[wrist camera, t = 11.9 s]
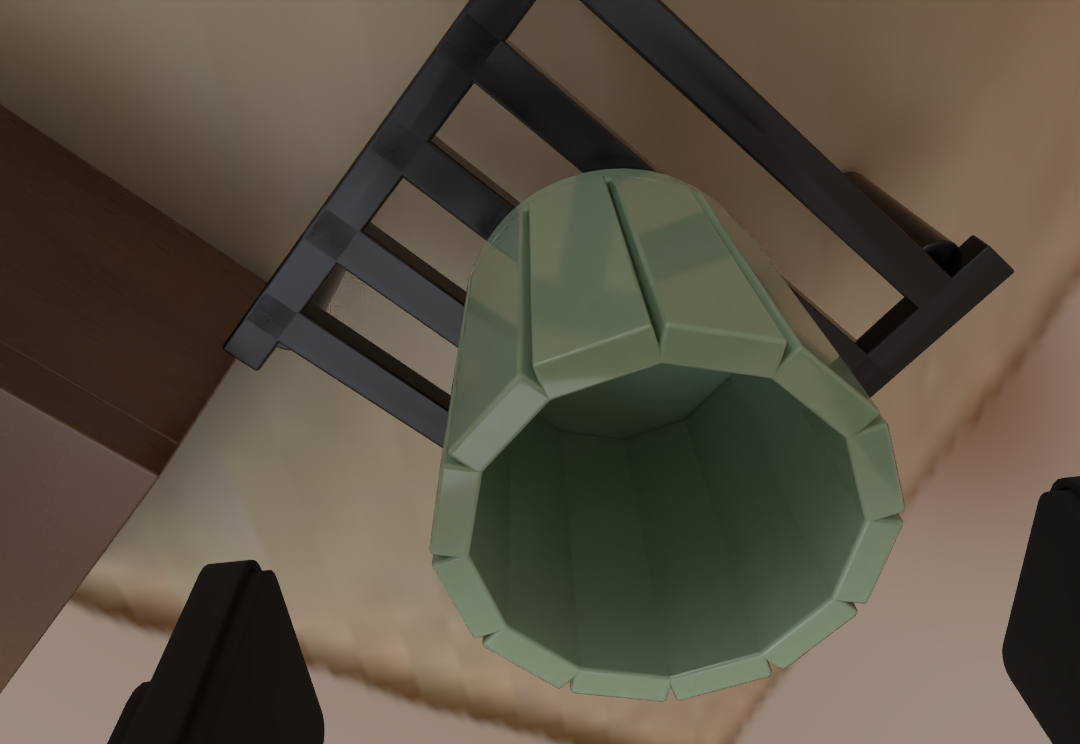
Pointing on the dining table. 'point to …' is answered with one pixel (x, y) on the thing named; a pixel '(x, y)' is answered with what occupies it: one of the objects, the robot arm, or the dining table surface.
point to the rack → (589, 144)
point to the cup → (652, 450)
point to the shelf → (91, 367)
